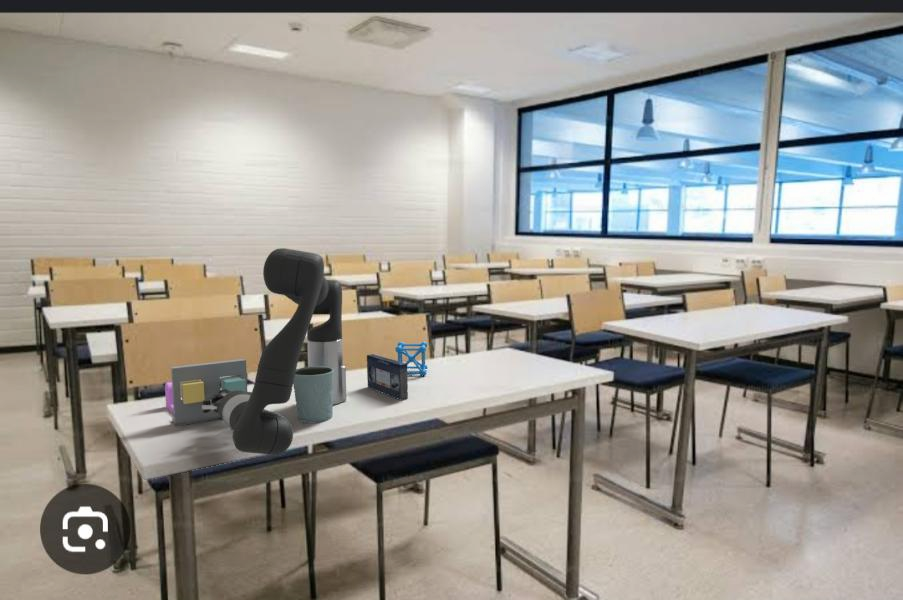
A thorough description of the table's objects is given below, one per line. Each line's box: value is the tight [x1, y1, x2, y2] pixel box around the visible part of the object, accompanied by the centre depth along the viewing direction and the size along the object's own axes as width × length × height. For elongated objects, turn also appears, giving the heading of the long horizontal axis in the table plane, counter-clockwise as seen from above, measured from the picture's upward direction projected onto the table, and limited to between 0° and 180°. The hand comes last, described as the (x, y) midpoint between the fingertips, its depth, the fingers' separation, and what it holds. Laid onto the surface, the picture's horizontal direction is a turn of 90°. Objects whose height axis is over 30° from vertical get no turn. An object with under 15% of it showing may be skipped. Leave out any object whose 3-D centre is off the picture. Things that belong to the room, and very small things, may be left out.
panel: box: [170, 358, 248, 427], centre depth 148 cm, size 17×5×14 cm, turn 123°
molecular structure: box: [394, 341, 428, 376], centre depth 195 cm, size 10×10×10 cm
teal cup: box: [293, 366, 334, 423], centre depth 148 cm, size 10×10×12 cm
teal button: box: [220, 375, 246, 392], centre depth 146 cm, size 5×6×5 cm
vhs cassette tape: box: [366, 354, 409, 400], centre depth 171 cm, size 18×3×10 cm, turn 37°
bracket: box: [164, 381, 183, 414], centre depth 155 cm, size 13×6×7 cm, turn 39°
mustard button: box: [180, 380, 205, 404], centre depth 144 cm, size 5×6×5 cm
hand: (223, 393), depth 139 cm, fingers closed
